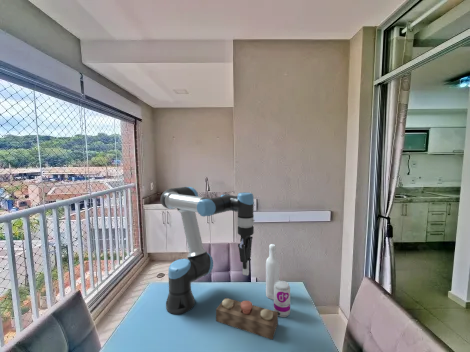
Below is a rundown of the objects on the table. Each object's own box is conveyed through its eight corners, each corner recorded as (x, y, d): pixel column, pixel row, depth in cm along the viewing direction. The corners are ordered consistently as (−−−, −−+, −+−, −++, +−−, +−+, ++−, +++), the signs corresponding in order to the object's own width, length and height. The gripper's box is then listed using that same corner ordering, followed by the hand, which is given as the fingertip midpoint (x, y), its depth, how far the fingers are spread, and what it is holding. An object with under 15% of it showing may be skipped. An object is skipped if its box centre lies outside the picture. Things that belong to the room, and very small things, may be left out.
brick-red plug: (238, 320, 104) (238, 306, 103) (243, 312, 109) (243, 299, 108) (250, 323, 101) (249, 309, 101) (254, 316, 106) (253, 302, 106)
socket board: (216, 321, 106) (215, 309, 106) (225, 308, 115) (225, 297, 115) (272, 339, 95) (272, 326, 94) (277, 324, 104) (277, 312, 103)
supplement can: (290, 319, 107) (290, 289, 106) (273, 316, 109) (273, 287, 108) (289, 308, 115) (289, 280, 114) (274, 306, 117) (273, 279, 116)
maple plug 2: (259, 330, 99) (259, 315, 99) (262, 321, 105) (262, 307, 104) (271, 333, 97) (271, 318, 97) (274, 325, 102) (274, 310, 102)
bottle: (280, 293, 129) (280, 243, 127) (278, 301, 121) (278, 248, 119) (267, 290, 131) (266, 241, 130) (264, 298, 124) (264, 246, 122)
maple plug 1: (220, 317, 108) (220, 304, 107) (225, 310, 113) (225, 297, 112) (230, 320, 105) (230, 307, 105) (235, 313, 111) (235, 300, 110)
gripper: (248, 230, 95) (248, 282, 96) (257, 223, 107) (257, 269, 108) (232, 228, 98) (232, 279, 100) (243, 221, 110) (243, 266, 111)
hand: (245, 274), depth 104 cm, fingers closed
